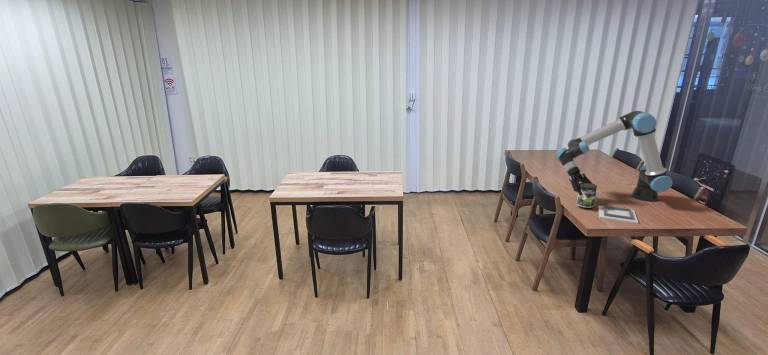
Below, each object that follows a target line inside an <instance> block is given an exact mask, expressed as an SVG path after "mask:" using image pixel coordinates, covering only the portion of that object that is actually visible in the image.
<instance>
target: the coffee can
mask: <svg viewBox="0 0 768 355" xmlns="http://www.w3.org/2000/svg"><path fill="white" fill-rule="evenodd" d="M592 183H593V182H592ZM592 183H582V182H579V184H580V189H581V190H582V191H583V192H584V194H585V195H586V197H587V199H585V200H583V199H582V197H581V196H580V195H579V193H578V192H577V196H576V206H578V207H581V208H588V209H589V208H594V205H595V200H596V197H595V194H596V193H597V189H598V186H597V184H595V183H593V184H592Z"/></svg>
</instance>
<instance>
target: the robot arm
mask: <svg viewBox="0 0 768 355" xmlns="http://www.w3.org/2000/svg"><path fill="white" fill-rule="evenodd" d="M656 126H657V119H656V118H655V116H653V115H652V114H650V113H649V112H644V111H641V110H634V111H629V113H626V114H624V115H622V116H620V117H617V119H616V120H614V121H613V122H610V123H608V124H606V125H604V126H602V127H601V126H600V128H597V129H595V130H593V131H591V132H588V133H586V134H583V135H581V136H580V137H578V138H576V139H575V138H573V139H570V140H569V141H568V142H567V148H568V149H567V148H566V147H562V148H560V149H558V150H557V151H556V152H555V155H556V157H557V159H558V160H559V162H560V164H561V166H563V168H564V169H565V171H566V172H567V175H568V176H569V178H568V179H569V181H570V184H571V187H572V189H573V191H574V192H575V193H577V194H578V193H579V195H580V196H581V197H582V199H583V200H585V199H587V197H586V195H585V194H584V192H583V191H582V190H581V189H580V183H592V184H594V183H593V182H592V181H591V180H590V179H589V178H588V177H587V175H586V174H585V173H583V174H582V173H581V169H580V168H579V166H578V165H577V163H576V161H575V160H574V159H576V158H577V157H580V156H581V155H583V154H586V153H588V152H589V151H590V148H589V145H592V144H594V143H596V142H599V141H601V140H603V139H606V138H607V137H610V136H613V135H615V134H616V133H619V132H621V131H627V130H630V129H631V130H632V133H633V136H634V137H635V138H637V140H638V143H639V147H640V151H641V154H642V158H643V161H644V165H642V166H640V169H639V174H638V179H637V184H636V186H635V188H634V189H633V191H632V193H631V197H633V198H634V199H636V200H640V201H646V202H656V201H657V202H658V200H659V193H664V192H667V191H668V190H670V189H671V188H672V186H673V179H672V178H671V177H670V176H669V173H668V169H667V168H665V167H664V166H663V164H662V163H663V162H662V159H661V156H660V152H659V149H658V148H659V147H658V144H657V141H656V138H655V133H656V131H657V129H656ZM596 197H598V193H597V192H596V194H595V198H596Z"/></svg>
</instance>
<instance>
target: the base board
mask: <svg viewBox="0 0 768 355" xmlns="http://www.w3.org/2000/svg"><path fill="white" fill-rule="evenodd" d="M597 210H598V217H599V219H603V220H609V221H615V222H616V221H617V222H623V223H629V224H635V225H636V224H637V225H639V220H638V217H637V215H636V212H635V210H633V209H631V208H624V207H618V206H612V205H611V206H609V205H597Z"/></svg>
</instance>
